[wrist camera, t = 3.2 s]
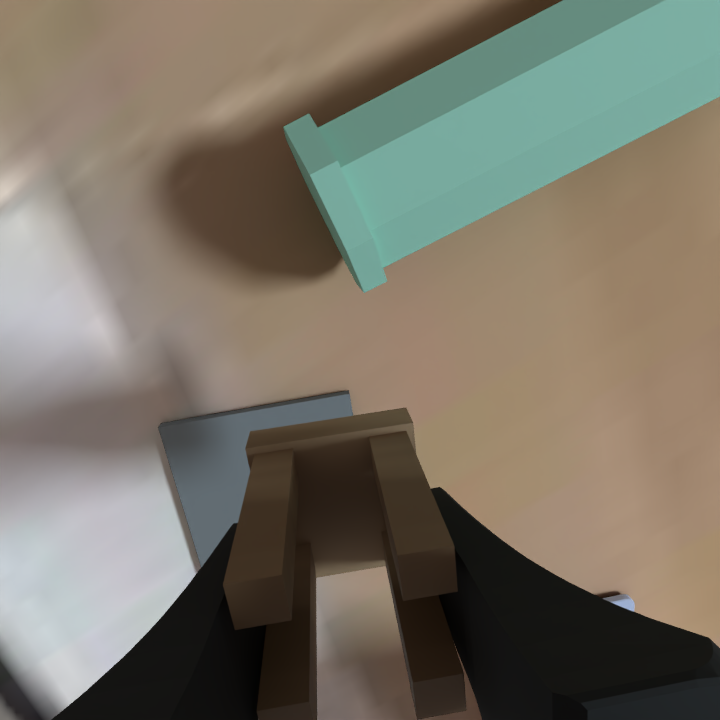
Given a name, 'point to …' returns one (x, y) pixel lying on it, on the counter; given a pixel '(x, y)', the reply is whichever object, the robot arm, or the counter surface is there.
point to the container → (503, 122)
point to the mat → (229, 459)
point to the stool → (341, 553)
